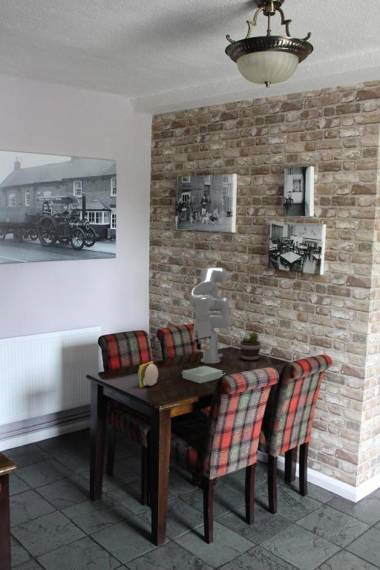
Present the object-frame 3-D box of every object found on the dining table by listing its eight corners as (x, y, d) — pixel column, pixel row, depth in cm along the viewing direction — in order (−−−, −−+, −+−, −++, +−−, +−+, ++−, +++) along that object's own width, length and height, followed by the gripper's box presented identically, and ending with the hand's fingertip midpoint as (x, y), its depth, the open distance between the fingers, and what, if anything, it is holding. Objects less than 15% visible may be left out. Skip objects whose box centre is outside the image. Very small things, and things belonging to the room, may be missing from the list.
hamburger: (148, 388, 307) (148, 367, 306) (136, 386, 311) (136, 365, 310) (161, 383, 317) (160, 362, 316) (148, 381, 322) (148, 360, 320)
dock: (204, 372, 340) (204, 365, 340) (222, 377, 329) (222, 370, 329) (182, 377, 328) (182, 371, 328) (200, 383, 317) (200, 376, 317)
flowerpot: (234, 358, 373) (234, 329, 371) (252, 355, 382) (252, 326, 379) (248, 363, 361) (248, 332, 359) (266, 359, 369) (266, 330, 367)
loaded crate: (202, 348, 331) (202, 337, 330) (209, 350, 326) (209, 338, 326) (195, 350, 327) (195, 338, 326) (202, 351, 323) (202, 340, 322)
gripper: (208, 315, 333) (208, 345, 335) (187, 319, 322) (187, 350, 324) (217, 317, 327) (217, 347, 330) (195, 320, 316) (196, 352, 318)
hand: (202, 348), depth 327 cm, fingers closed on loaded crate, 5 cm apart
